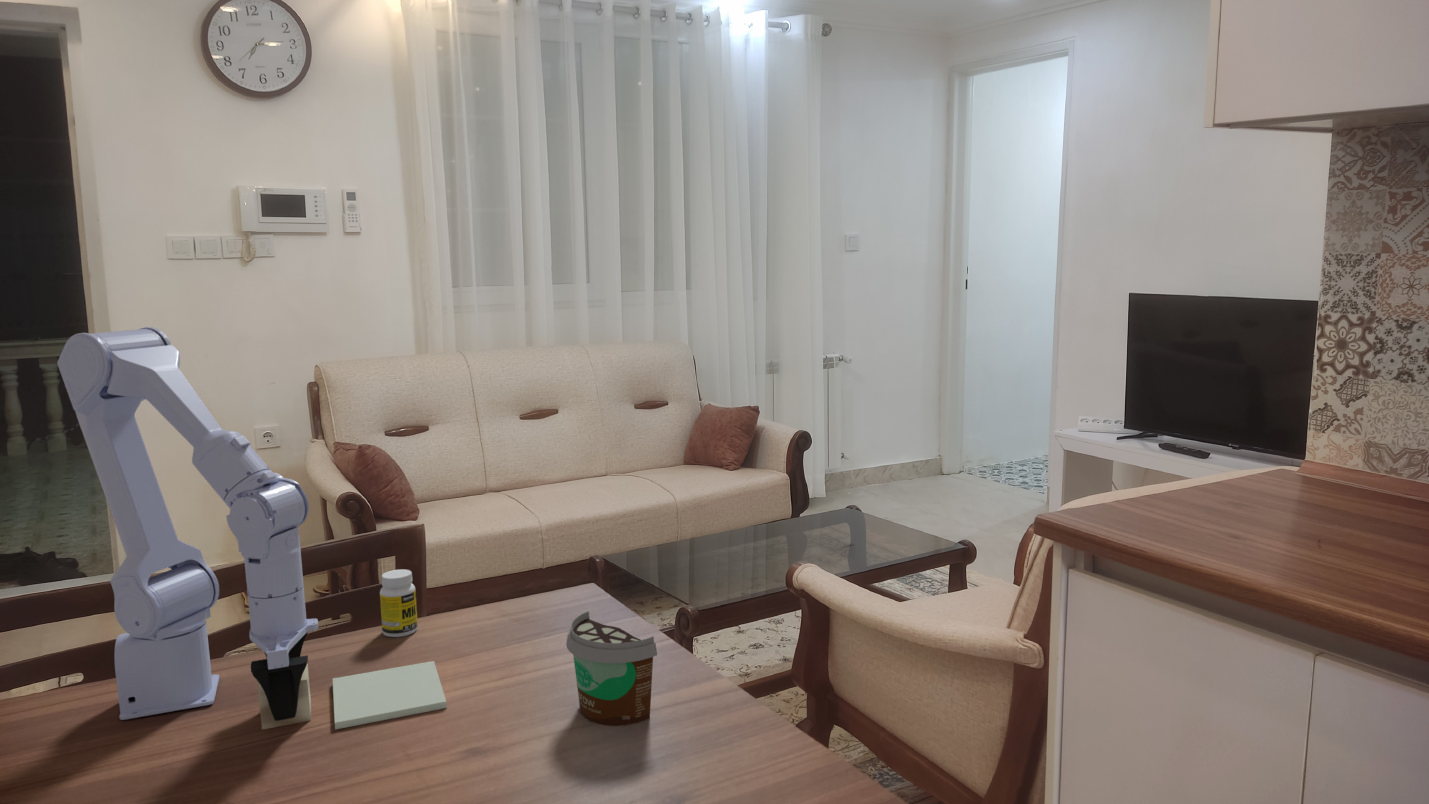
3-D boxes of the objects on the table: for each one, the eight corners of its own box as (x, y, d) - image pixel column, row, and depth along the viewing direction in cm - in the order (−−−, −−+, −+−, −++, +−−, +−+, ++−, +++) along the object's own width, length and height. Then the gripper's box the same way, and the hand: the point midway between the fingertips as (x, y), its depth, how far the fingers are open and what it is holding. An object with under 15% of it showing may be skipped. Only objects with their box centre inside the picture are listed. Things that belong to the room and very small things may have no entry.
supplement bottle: (406, 639, 127) (402, 580, 126) (375, 636, 128) (371, 578, 127) (424, 625, 132) (420, 569, 131) (394, 623, 133) (390, 567, 132)
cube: (262, 730, 103) (258, 688, 102) (264, 710, 108) (260, 670, 107) (310, 720, 105) (307, 679, 104) (310, 701, 110) (307, 662, 109)
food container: (546, 707, 108) (543, 625, 106) (588, 688, 112) (585, 609, 110) (617, 743, 99) (614, 655, 98) (659, 722, 104) (657, 637, 102)
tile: (335, 729, 103) (334, 722, 103) (333, 684, 114) (332, 678, 114) (446, 707, 108) (446, 701, 107) (434, 666, 119) (434, 660, 118)
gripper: (314, 605, 99) (324, 724, 101) (314, 565, 112) (323, 671, 114) (240, 616, 96) (252, 738, 98) (249, 573, 110) (259, 681, 112)
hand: (286, 703), depth 106 cm, fingers open, 7 cm apart
